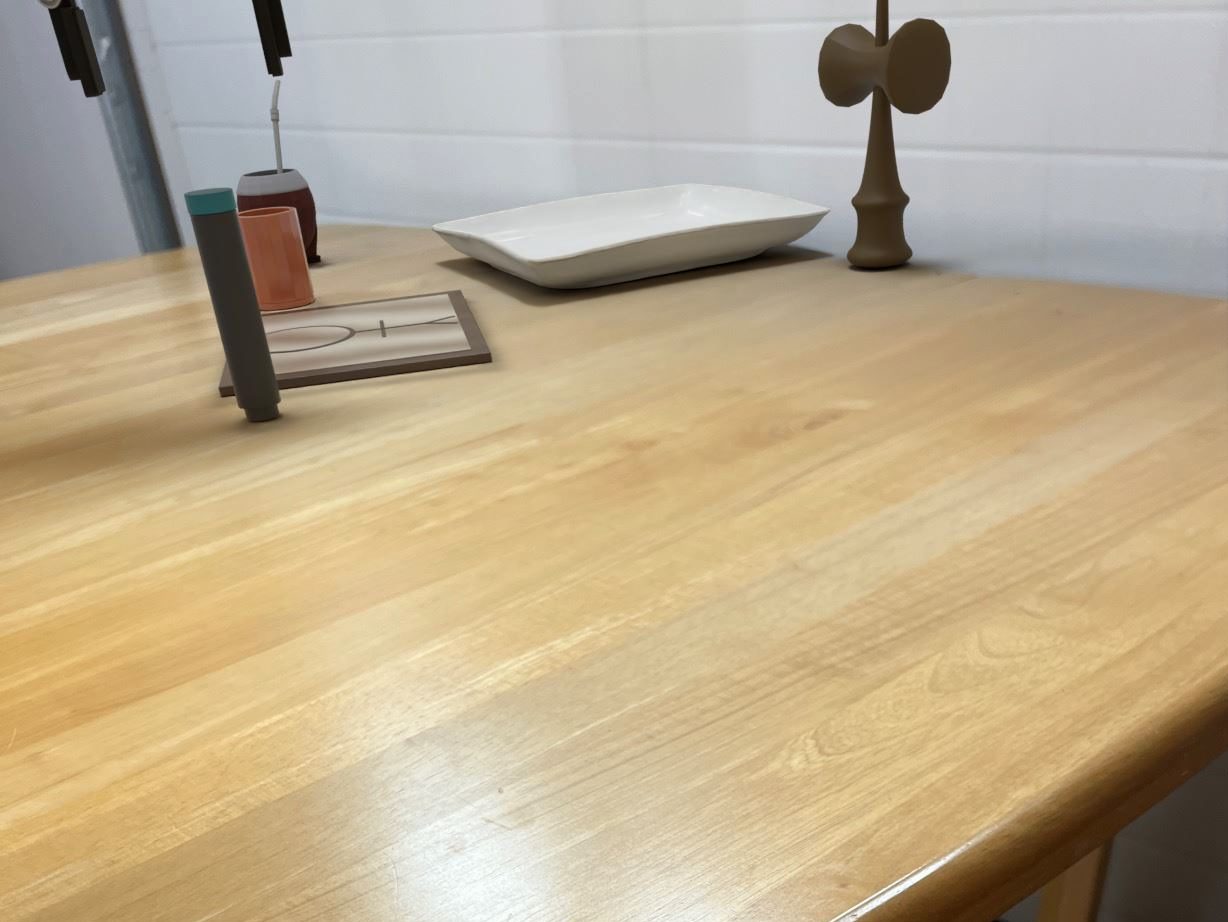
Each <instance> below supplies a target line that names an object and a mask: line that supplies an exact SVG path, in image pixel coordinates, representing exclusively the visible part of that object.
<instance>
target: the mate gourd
mask: <svg viewBox="0 0 1228 922" xmlns="http://www.w3.org/2000/svg"><path fill="white" fill-rule="evenodd" d="M281 82H282V81H281V80H280V79H276V80H275V82H274V86H273V91H272V95H271V108H269V109H270V110H269V111H270V122H272V130H273V140H274V150H275V161H276V169H266V170H258V171H252V172H248V173H244V174H242V175H241V176H240V178H239V180H238V182H237V187H236V191H235V193H236V206H237V213H239V212H243V211H248V210H254V209H261V208H271V207H294V208H296V211H297V216H298V220H299V225H300V230H301V234H302V239H303V244H304V249H305V253H306V258H307V263H308V264H310V263H317V262H321V261H322V257H321V255H320V254H318V225H317V210H316V201H315V199H314V196H313V193H312V190H311V189H310V187H309V182H308V181H307V180H306V178H305V177H304V176H303V175H302V174H301V172H300V171H299V170H297V169H296V168H284V167H283V156H282V155H283V154H282V148H281V147H282V145H281V138H280V137H281V135H280V125H279V122H280V111H279V109H278V102H279V94H280V87H281Z"/></svg>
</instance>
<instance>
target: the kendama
mask: <svg viewBox="0 0 1228 922" xmlns="http://www.w3.org/2000/svg"><path fill="white" fill-rule="evenodd" d="M875 1H876V2H875V3H876V6H875V30H874V31H875V35H874V34H873V32H870V31H869V30H868V29H867V28H866V27H864V26H863V25H862V24H856V23H845V24H843V25H840V26H837V27H835V28H834V29H833V30H832V31H831V32H830V33H829V34H828V35H827V36H826V37H825V38H824V40H823V42H822V46H821V47H820V50H819V55H818V63H817V76H818V82H819V83H818V84H819V87H820V89H821V91H822V94H823V96H824V98H825V100H827V101H828V102H830V103H831V104H832V105H834V106H835V107H837V108H839V107H840V108H851V107H853V106H856V105H859V104H861V103H862V102H864V101H865V100H866V99H867V98H868V97H869V96H870V95H871V94H872V98H871V109H870V121H869V129H868V138H867V146H866V147H867V148H866V153H865V159H864V161H865V162H864V168H863V173H862V178H861V182H860V185H859V188H858V190H857V193H856V194H855V195H854V196H852V198H851V201H850V204H851V205H852V207H853V208H854V210H855V213H856V218H857V224H856V225H857V226H856V237H855V239H854V240H855V242H854V243H853V245H852V246H851V248H850V249H849V250H848V251H847V253H846V259H847V261H848V262H849V263H850V264H852V265H854V266H858V267H861V268H887V267H888V268H889V267H894V266H897V265H900V264H904V263H906V262H907V261H909V260H910V259H911V258H913V256H914V255H913V254H914V252H913V249H912V248H911V246H910V245H909V244H908V242H907V240H906V236H905V229H904V214H905V210H906V207H907V206H908V205H909V203H910V202H911V201H910V200H911V197H910V195H908V194H907V193H906V192H905V190H904V189H903V187H902V184H901V180H900V177H899V171H898V165H897V155H896V149H895V140H894V129H893V117H892V107H894V108H895V109H897V110H898V111H899V112H900V113H902V114H905V115H921V114H923V113H926V112H928V111H930V110H932V109H933V108H934V107H935V106H937V104H938V103H939V102H940V101H941V100H942V99H943V97H944V95H945V92H946V89H947V87H948V86H949V85H948V84H949V81H950V76H951V68H952V52H951V43H950V40H949V37H948V35H947V33H946V30H945V28H944V26H942V25H941V24H939V23H938V22H937V21H936V20H935V19H930V18H923V17H917V18H914V19H911V20H909V21H906V22H904V23H903V24H902V25H901V26H900V27H899V28H898V29H897V30H896V31H895V32H894V33H893V34H892V35H891V36H890V16H889V15H890V13H889V10H890V9H889V7H890V5H889V4H890V3H889V0H875Z"/></svg>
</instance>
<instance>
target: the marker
mask: <svg viewBox="0 0 1228 922" xmlns="http://www.w3.org/2000/svg"><path fill="white" fill-rule="evenodd" d="M183 198H184V202H185V205H186V210H187V214H189V218H190V221H191V226H192V229H193V233H194V237H195V241H196V245H197V249H198V253H199V258H200V261H201V265H202V269H203V273H204V277H205V280H206V285H207V288H208V293H209V297H210V300H211V304H212V308H213V312H214V316H215V321H216V324H217V328H218V332H219V336H220V340H221V344H222V348H223V353H224V356H225V361H226V360H227V364H228V368H229V372H230V376H231V380H232V384H233V388H234V392H235V395H234V396H235V400H236V403H237V406H238V408H239V409H241V410H244V414H245V420H247V421H248V422H255V423H256V422H267V421H270V420H274V419H275V418H278V417H279V416H280V411H279V406H278V404H280V403H281V401H282V398H281V393H280V389H278V385H277V380H276V376H275V372H274V368H273V363H272V359H271V355H270V351H269V346H268V342H267V338H266V334H265V329H264V325H263V321H262V317H261V314H262V313H261V310H260V308H259V304H258V300H257V295H256V291H255V287H254V283H253V278H252V274H251V270H250V266H249V261H248V257H247V253H246V249H245V244H244V240H243V236H242V231H241V227H240V223H239V219H238V214H237V213H238V207H237V201H236V199H235V194H234V189H233V188H232V187H213V188H212V187H211V188H205V189H197V190H192V191H187V192H185V193H184V194H183Z"/></svg>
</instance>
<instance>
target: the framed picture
mask: <svg viewBox="0 0 1228 922" xmlns="http://www.w3.org/2000/svg"><path fill="white" fill-rule="evenodd" d="M261 317H262V321H263V325H264V329H265V334H266V338H267V342H268V346H269V351H270V355H271V359H272V363H273V368H274V372H275V376H276V380H277V385H278V389H279V390H282V389H289V388H299V387H305V386H313V385H321V384H327V383H328V384H329V383H337V382H344V381H351V380H359V379H366V378H374V377H375V378H376V377H381V376H390V375H398V374H406V373H412V372H421V371H429V370H436V369H444V368H452V367H459V366H467V365H473V364H475V365H476V364H483V363H490V362H492V361H493V357H492V352H491V350H490V348H489V345H488V344H487V342H486V339H485V338H484V335H483V333H482V332H481V329H480V327H479V325H478V323H477V321H476V319H475V316H474V315H473V313H472V310H471V309H470V307H469V304H468V302H467V300H466V298H465V295H464V294H463V291H462V289H456V290H446V291H439V292H431V293H421V294H414V295H408V296H407V295H406V296H398V297H390V298H382V299H372V300H365V301H357V302H349V303H340V304H331V305H325V306H317V307H316V306H315V307H308V308H299V309H292V310H284V311H274V312H267V313H261ZM218 391H219V395H220V397H226V396H227V397H228V396H235V392H234V388H233V384H232V380H231V376H230V372H229V368H228V364H227V360H226V359H225V362H224V366H223V369H222V373H221V377H220V381H219V385H218Z"/></svg>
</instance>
